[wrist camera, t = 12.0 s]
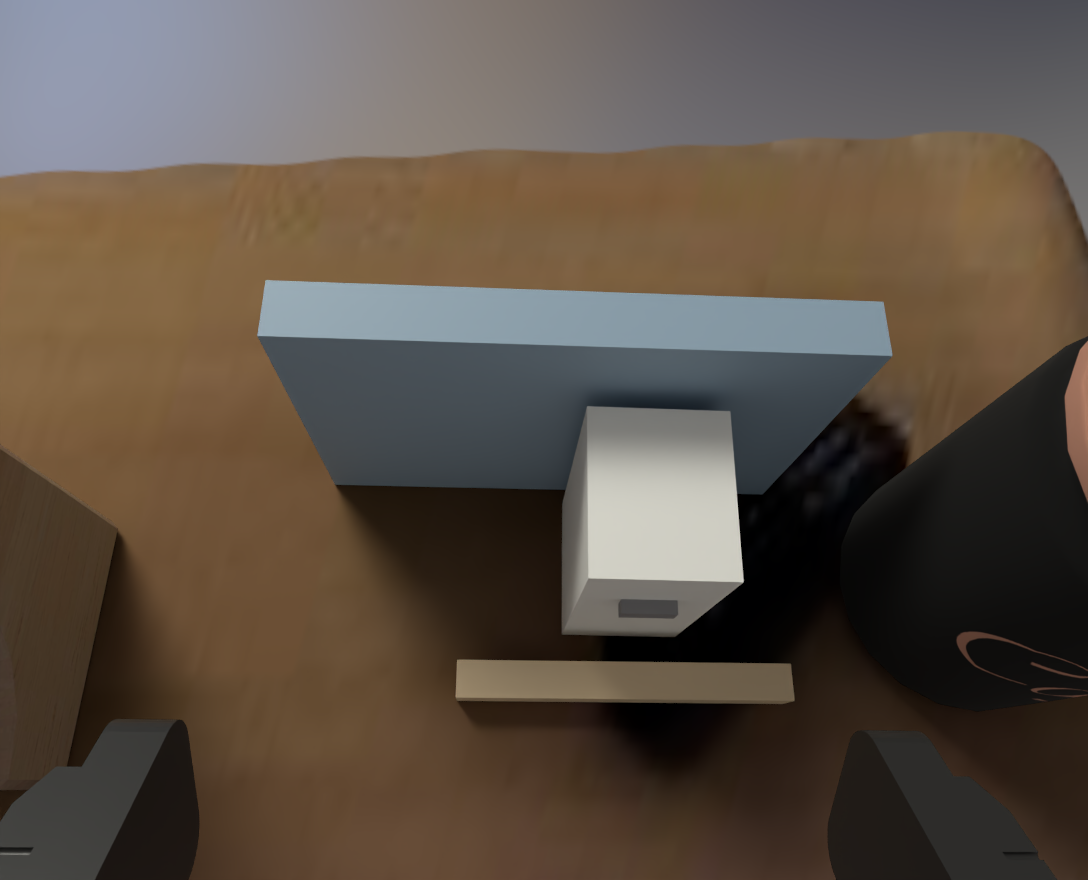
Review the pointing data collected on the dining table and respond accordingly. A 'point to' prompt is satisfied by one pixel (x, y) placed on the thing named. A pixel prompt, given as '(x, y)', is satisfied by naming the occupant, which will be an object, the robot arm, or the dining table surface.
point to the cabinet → (649, 521)
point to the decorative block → (45, 616)
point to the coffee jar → (984, 552)
